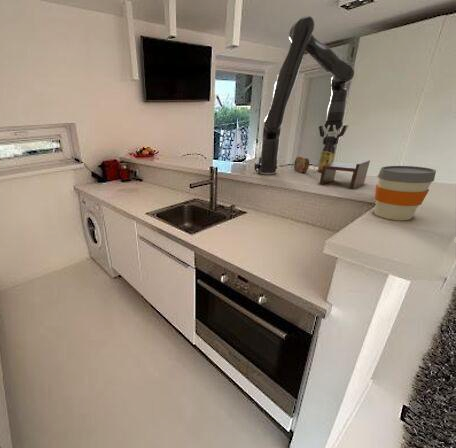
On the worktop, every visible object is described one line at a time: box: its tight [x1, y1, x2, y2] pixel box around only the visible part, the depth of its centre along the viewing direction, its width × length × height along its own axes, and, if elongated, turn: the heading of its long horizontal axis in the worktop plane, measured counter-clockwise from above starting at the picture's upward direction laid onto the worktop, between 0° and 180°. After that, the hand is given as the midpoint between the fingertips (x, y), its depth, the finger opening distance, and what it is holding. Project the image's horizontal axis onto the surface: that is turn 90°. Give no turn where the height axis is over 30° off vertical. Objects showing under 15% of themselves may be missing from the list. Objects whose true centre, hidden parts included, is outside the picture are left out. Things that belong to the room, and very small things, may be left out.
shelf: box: [318, 159, 371, 190], centre depth 115 cm, size 14×12×11 cm
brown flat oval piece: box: [293, 155, 310, 173], centre depth 147 cm, size 15×3×8 cm, turn 172°
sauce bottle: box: [317, 135, 336, 173], centre depth 140 cm, size 7×6×20 cm
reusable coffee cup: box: [374, 165, 437, 221], centre depth 77 cm, size 12×13×15 cm
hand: (329, 144), depth 137 cm, fingers closed on sauce bottle, 4 cm apart
